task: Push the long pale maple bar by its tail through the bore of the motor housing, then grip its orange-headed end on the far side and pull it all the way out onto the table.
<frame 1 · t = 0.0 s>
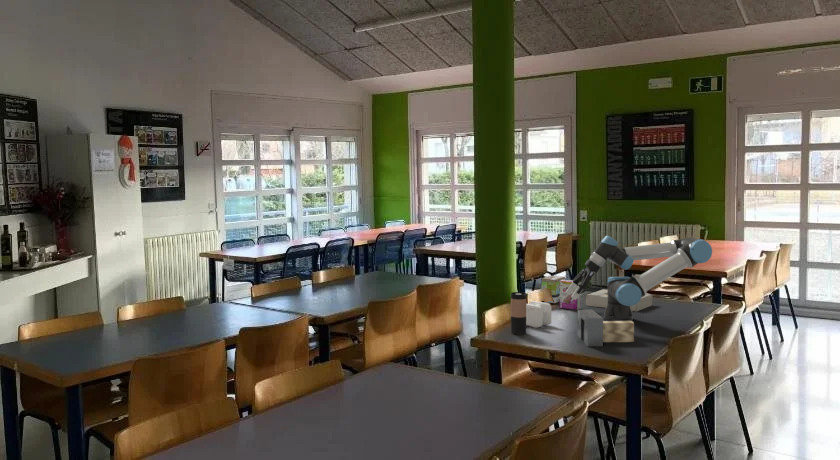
hand: (570, 296, 359), 15 cm above the table, tool tilted 35°, fingers open, 13 cm apart
cable organizer: (535, 325, 361), on the table
housing: (589, 341, 326), on the table
candy bar box: (569, 308, 404), on the table
bar: (613, 340, 326), on the table
tea box: (553, 301, 429), on the table
travel mug: (518, 333, 344), on the table
box: (618, 306, 411), on the table
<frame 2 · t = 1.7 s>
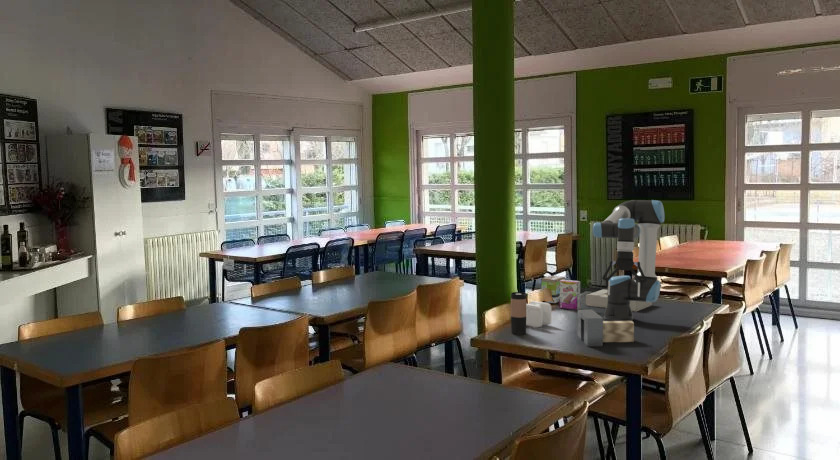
hand: (623, 295, 328), 21 cm above the table, tool pointing down, fingers open, 13 cm apart
nothing on the table moved.
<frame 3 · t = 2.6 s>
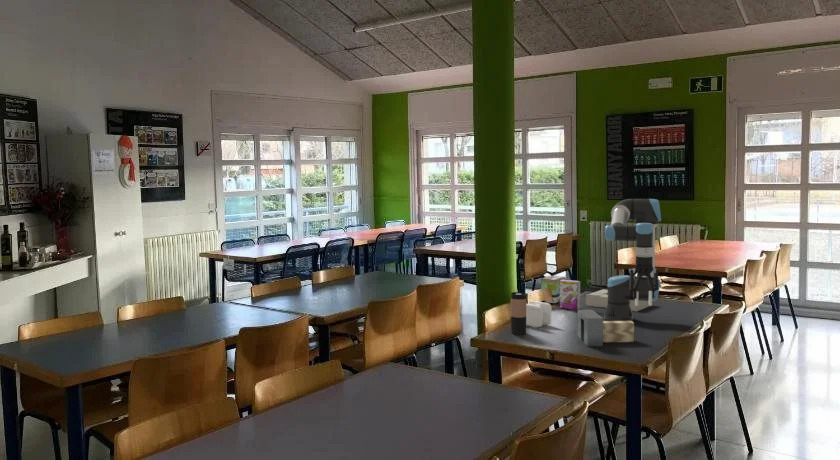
hand: (643, 305, 324), 17 cm above the table, tool pointing down, fingers open, 6 cm apart
nothing on the table moved.
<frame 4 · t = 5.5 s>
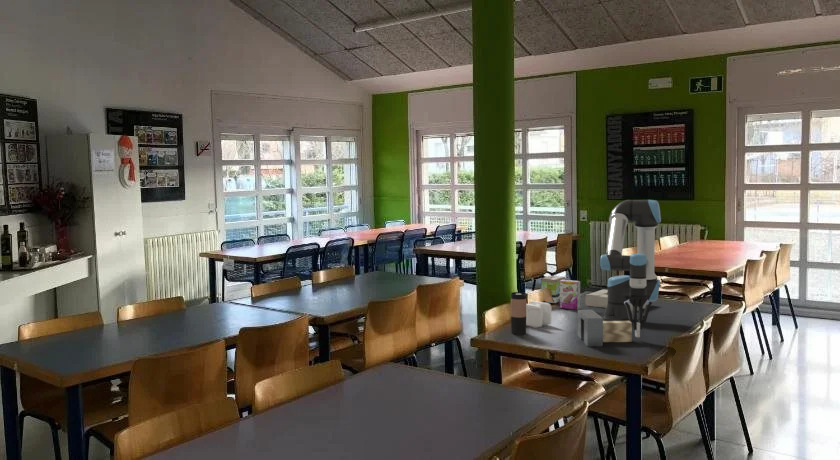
hand: (637, 336, 326), 2 cm above the table, tool pointing down, fingers closed
bar: (611, 340, 326), on the table, touching gripper
everything else where it was.
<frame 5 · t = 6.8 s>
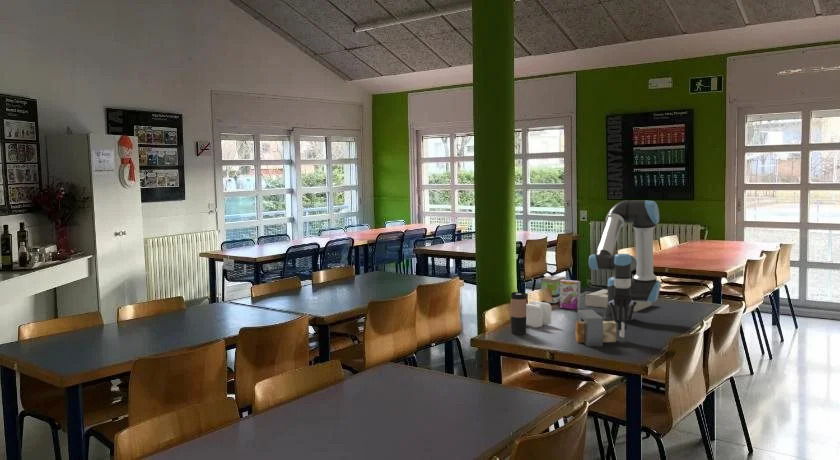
hand: (622, 336, 326), 2 cm above the table, tool pointing down, fingers closed
bar: (595, 341, 326), on the table, touching gripper
everything else where it was.
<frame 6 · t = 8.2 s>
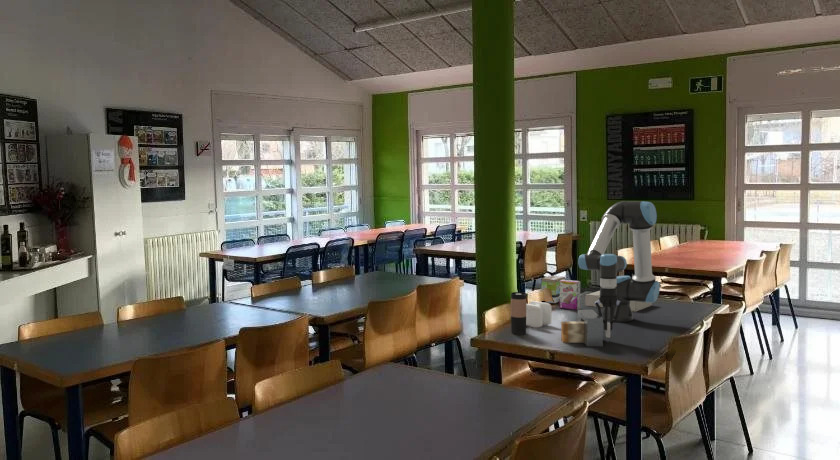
hand: (607, 336, 326), 2 cm above the table, tool pointing down, fingers closed
bar: (581, 341, 326), on the table, touching gripper
everything else where it was.
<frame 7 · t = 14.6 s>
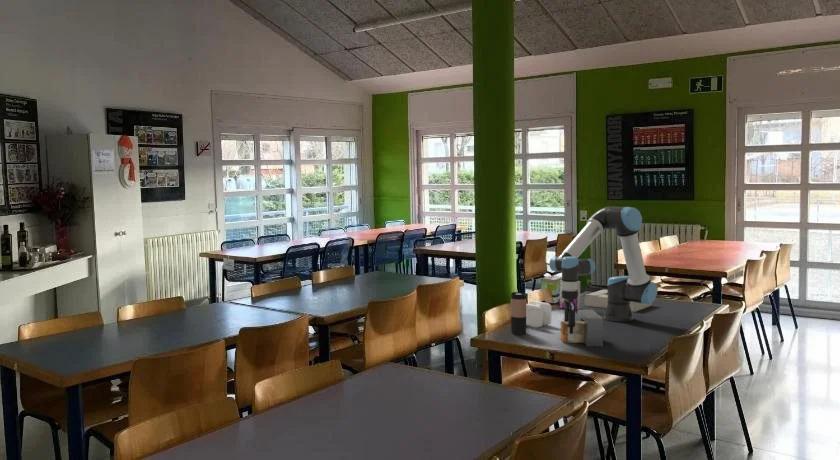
hand: (569, 338, 326), 1 cm above the table, tool pointing down, fingers closed on bar, 5 cm apart
bar: (581, 341, 326), on the table, touching gripper
when the fingers open (1 cm above the table, at t = 17.9 s): bar stays where it is, on the table.
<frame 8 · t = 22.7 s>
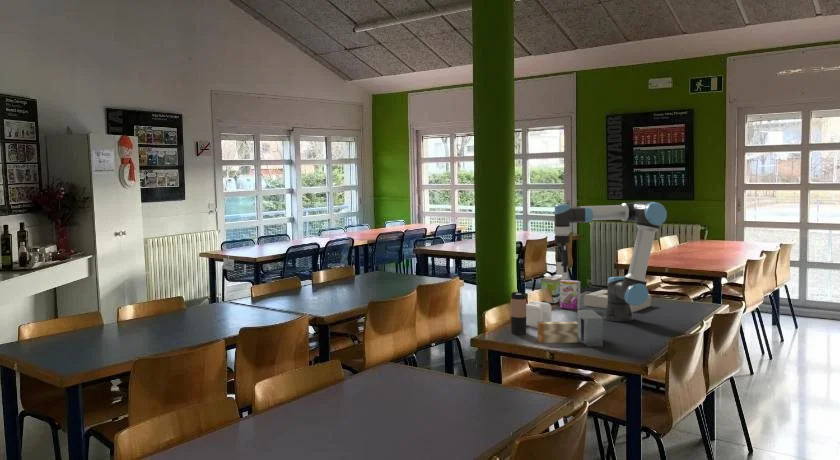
hand: (561, 276, 350), 27 cm above the table, tool pointing down, fingers open, 13 cm apart
bar: (557, 341, 326), on the table
at the end: bar inside the target area (0.9 cm from its centre), on the table; bar touching table; the gripper is holding nothing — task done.
